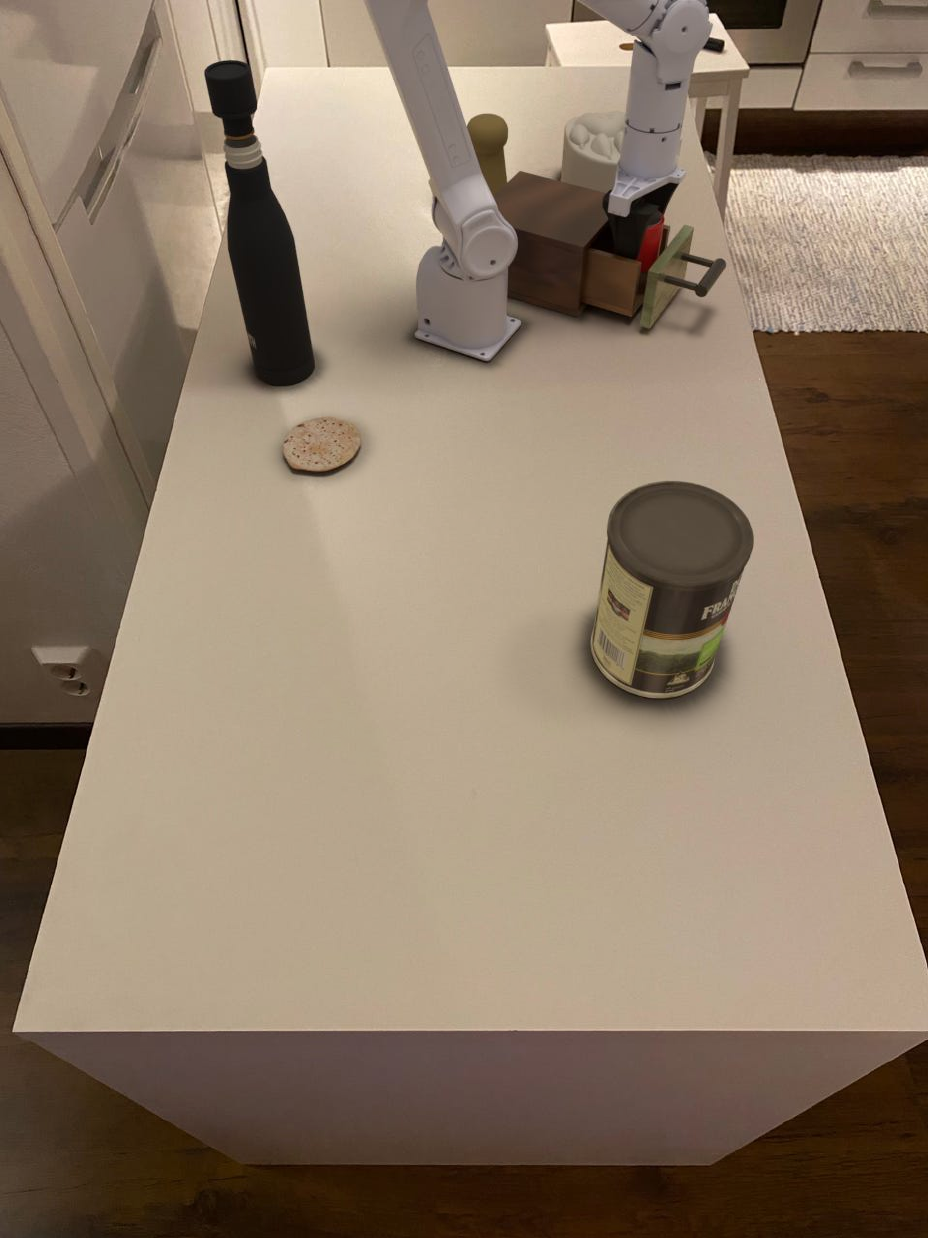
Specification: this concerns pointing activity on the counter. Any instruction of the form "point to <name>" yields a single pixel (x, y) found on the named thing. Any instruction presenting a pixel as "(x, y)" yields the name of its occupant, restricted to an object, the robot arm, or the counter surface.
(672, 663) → the coffee can
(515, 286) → the cabinet
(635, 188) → the robot arm
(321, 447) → the flatbread
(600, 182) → the lumpy-topped squat cylinder
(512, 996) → the counter surface
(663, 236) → the drawer
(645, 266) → the can
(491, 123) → the cork
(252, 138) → the black bottle
